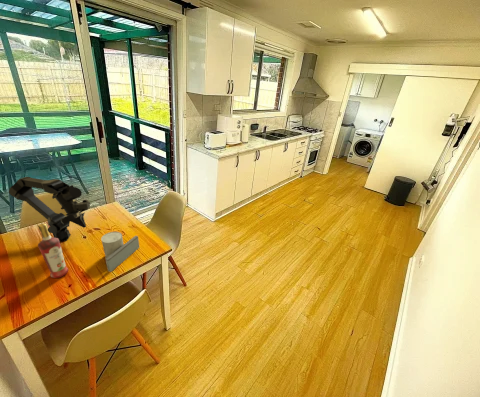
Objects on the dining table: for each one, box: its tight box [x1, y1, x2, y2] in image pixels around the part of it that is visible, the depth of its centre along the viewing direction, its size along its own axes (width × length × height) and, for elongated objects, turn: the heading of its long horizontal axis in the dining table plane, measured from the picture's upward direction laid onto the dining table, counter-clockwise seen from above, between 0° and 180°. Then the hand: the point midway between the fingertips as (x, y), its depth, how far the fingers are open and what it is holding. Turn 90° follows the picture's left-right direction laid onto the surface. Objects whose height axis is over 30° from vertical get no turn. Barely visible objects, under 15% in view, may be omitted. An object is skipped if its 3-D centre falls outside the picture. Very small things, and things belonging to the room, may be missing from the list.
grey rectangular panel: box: [104, 235, 140, 273], centre depth 118 cm, size 2×21×8 cm, turn 163°
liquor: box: [37, 223, 69, 279], centre depth 101 cm, size 7×7×28 cm
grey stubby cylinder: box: [100, 231, 125, 259], centre depth 119 cm, size 10×10×12 cm
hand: (85, 227), depth 122 cm, fingers closed
